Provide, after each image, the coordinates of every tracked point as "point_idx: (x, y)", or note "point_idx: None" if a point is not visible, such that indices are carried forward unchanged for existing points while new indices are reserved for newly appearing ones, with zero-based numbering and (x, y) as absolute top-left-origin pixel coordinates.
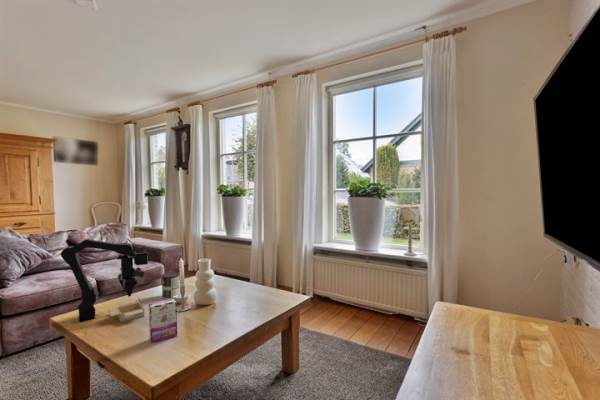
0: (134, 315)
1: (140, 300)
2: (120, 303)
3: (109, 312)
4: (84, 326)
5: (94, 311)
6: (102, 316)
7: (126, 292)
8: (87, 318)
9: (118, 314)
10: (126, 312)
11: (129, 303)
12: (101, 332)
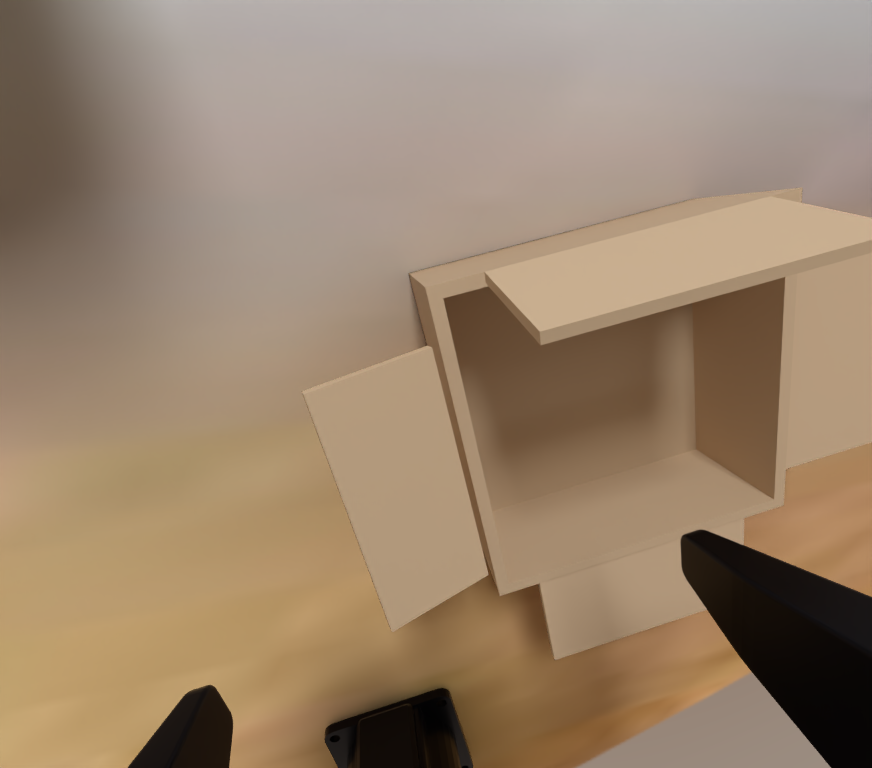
0: (729, 329)
1: (790, 263)
2: (427, 587)
3: (630, 630)
4: (586, 700)
5: (419, 763)
6: (416, 638)
7: (821, 739)
8: (454, 740)
9: (615, 516)
10: (780, 444)
11: (452, 453)
12: (798, 560)
